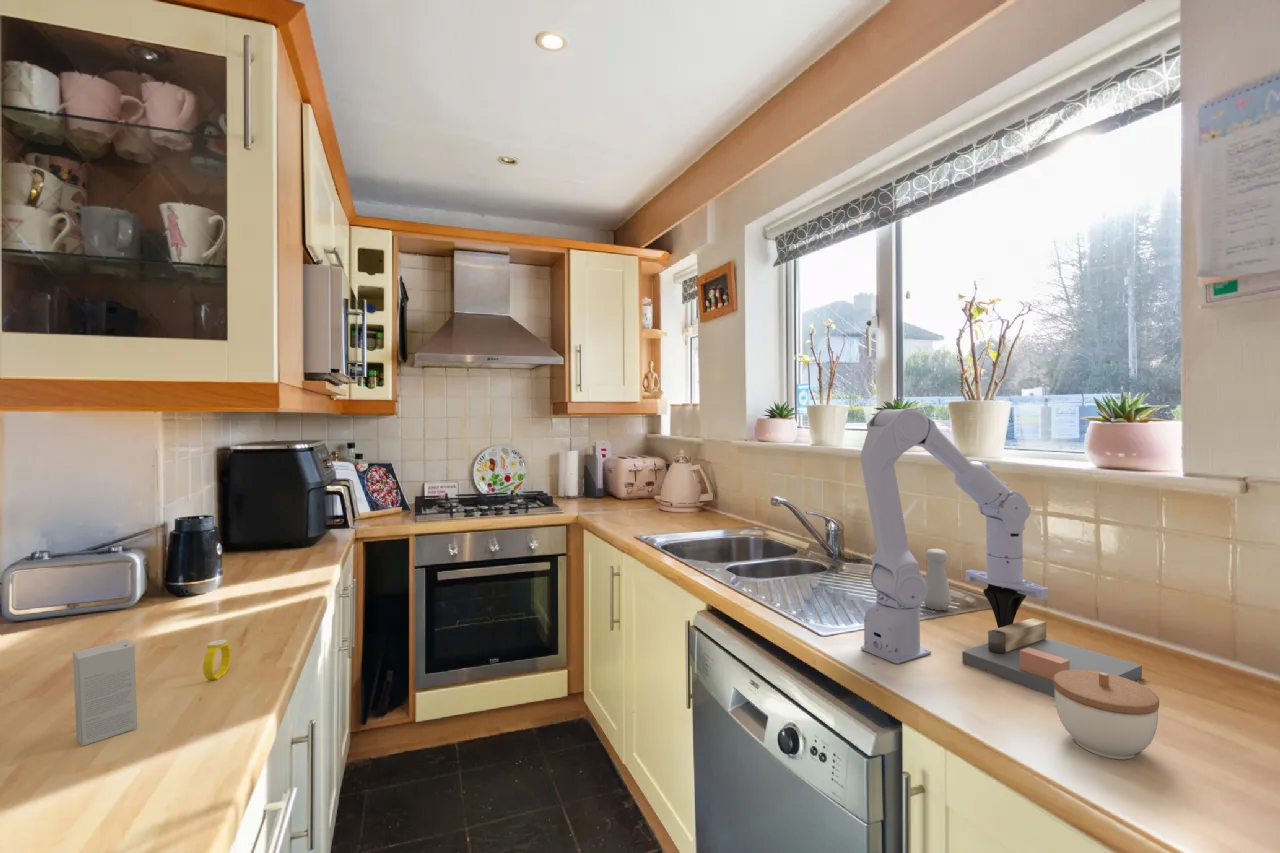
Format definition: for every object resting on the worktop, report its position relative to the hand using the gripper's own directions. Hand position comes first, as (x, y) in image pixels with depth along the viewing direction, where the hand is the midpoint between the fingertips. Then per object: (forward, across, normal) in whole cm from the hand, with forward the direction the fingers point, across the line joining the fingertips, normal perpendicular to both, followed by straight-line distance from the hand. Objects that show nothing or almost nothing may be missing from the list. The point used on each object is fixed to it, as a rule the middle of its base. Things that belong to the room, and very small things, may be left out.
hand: (1004, 628), depth 110 cm
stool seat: (+3, -10, +4) cm, 11 cm away
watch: (+3, +50, +131) cm, 140 cm away
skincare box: (+3, +34, +141) cm, 145 cm away
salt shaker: (+3, +21, -8) cm, 22 cm away
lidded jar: (+3, -28, +21) cm, 35 cm away
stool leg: (+1, -4, +3) cm, 5 cm away
